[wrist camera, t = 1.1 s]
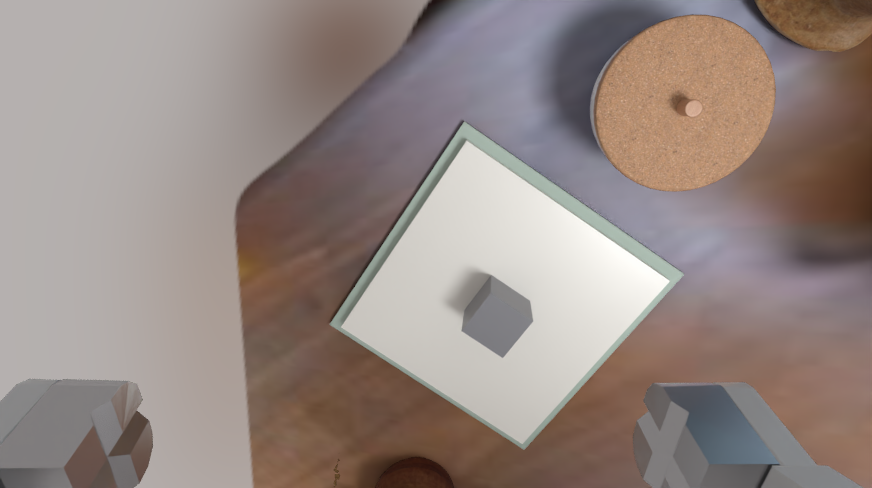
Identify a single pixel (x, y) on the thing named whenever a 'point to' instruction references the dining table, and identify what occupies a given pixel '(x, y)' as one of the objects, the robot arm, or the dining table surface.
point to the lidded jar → (683, 102)
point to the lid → (501, 295)
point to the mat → (548, 188)
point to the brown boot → (820, 22)
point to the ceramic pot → (412, 475)
